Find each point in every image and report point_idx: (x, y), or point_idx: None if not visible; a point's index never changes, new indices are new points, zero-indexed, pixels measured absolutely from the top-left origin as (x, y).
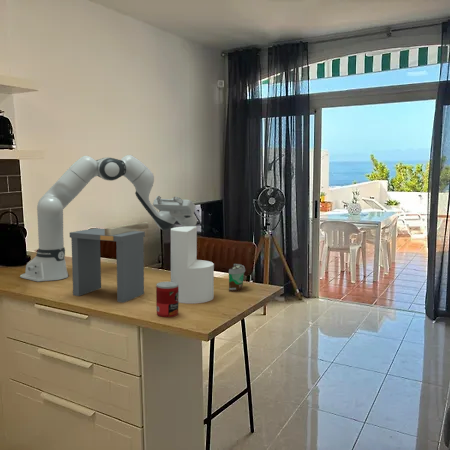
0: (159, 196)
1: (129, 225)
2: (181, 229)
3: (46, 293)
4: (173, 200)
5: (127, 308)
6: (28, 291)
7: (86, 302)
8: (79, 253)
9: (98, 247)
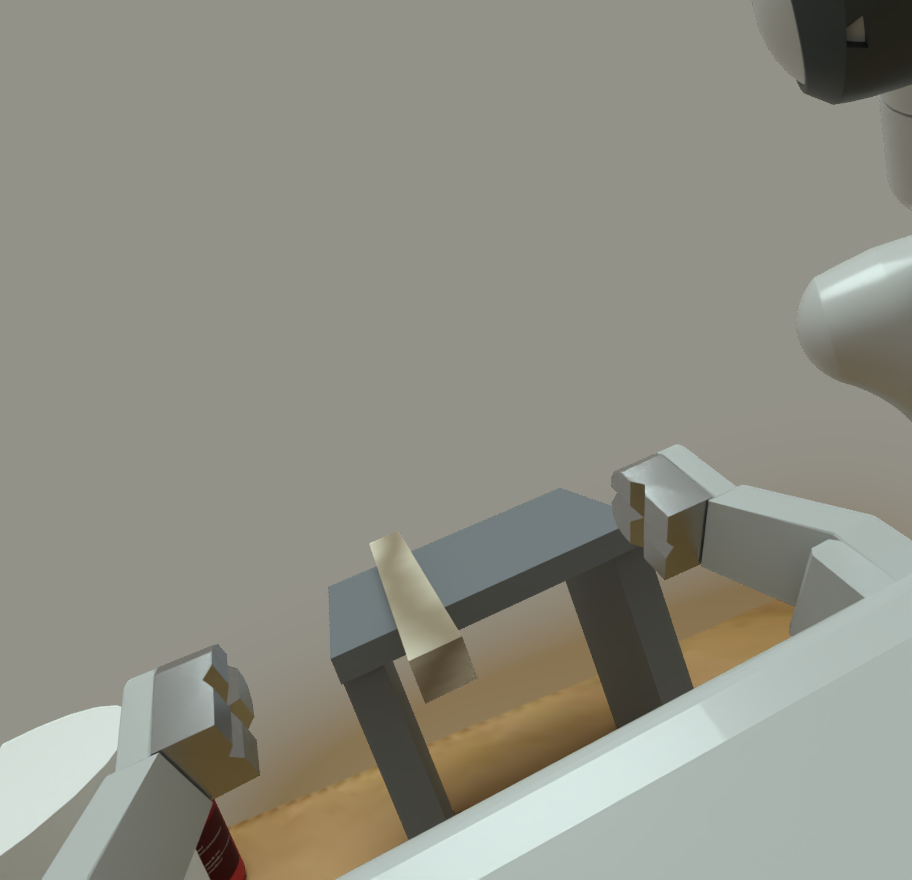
0: (615, 477)
1: (391, 580)
2: (51, 748)
3: (715, 654)
4: (483, 861)
5: (367, 814)
6: (773, 619)
7: (524, 732)
8: (568, 580)
9: (626, 615)
